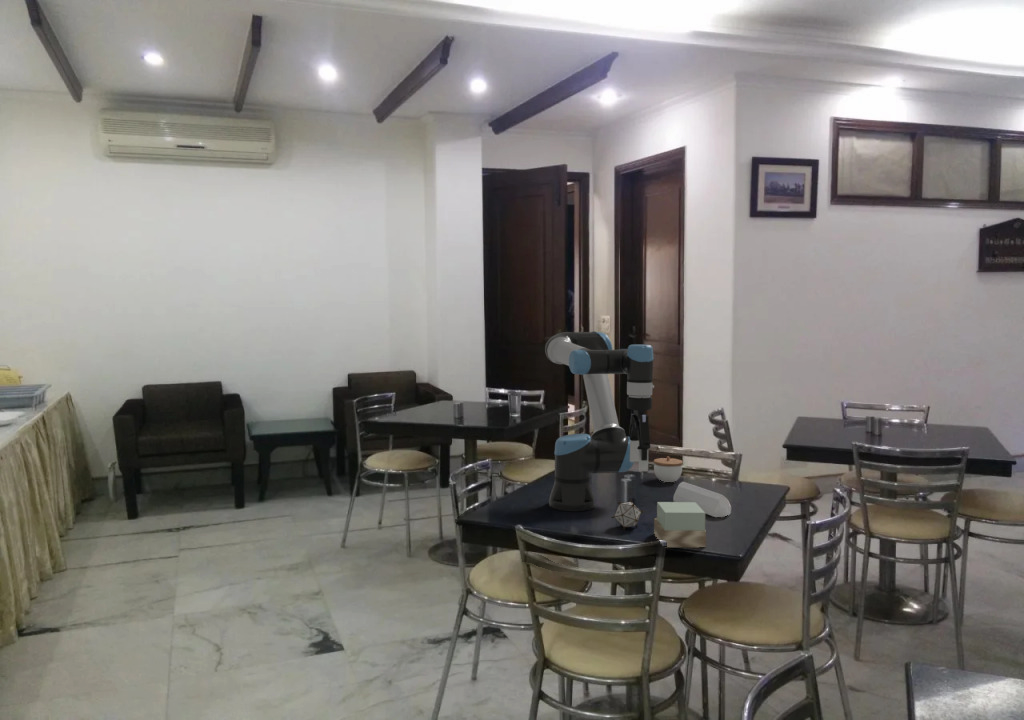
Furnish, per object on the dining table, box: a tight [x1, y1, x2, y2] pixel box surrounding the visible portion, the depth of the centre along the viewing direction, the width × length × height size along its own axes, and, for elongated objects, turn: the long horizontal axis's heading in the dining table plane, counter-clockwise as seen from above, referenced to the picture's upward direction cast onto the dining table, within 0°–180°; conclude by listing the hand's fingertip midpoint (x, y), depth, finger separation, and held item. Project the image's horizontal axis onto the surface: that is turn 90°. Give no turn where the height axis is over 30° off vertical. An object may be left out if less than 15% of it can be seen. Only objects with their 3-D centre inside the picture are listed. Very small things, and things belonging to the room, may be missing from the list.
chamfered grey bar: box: [672, 481, 732, 518], centre depth 245 cm, size 7×7×24 cm
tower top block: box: [656, 501, 706, 531], centre depth 211 cm, size 11×11×5 cm
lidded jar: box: [653, 456, 683, 483], centre depth 284 cm, size 11×11×9 cm
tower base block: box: [653, 517, 707, 548], centre depth 211 cm, size 12×12×5 cm
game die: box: [611, 498, 645, 530], centre depth 223 cm, size 9×8×10 cm
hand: (638, 466), depth 226 cm, fingers open, 13 cm apart
